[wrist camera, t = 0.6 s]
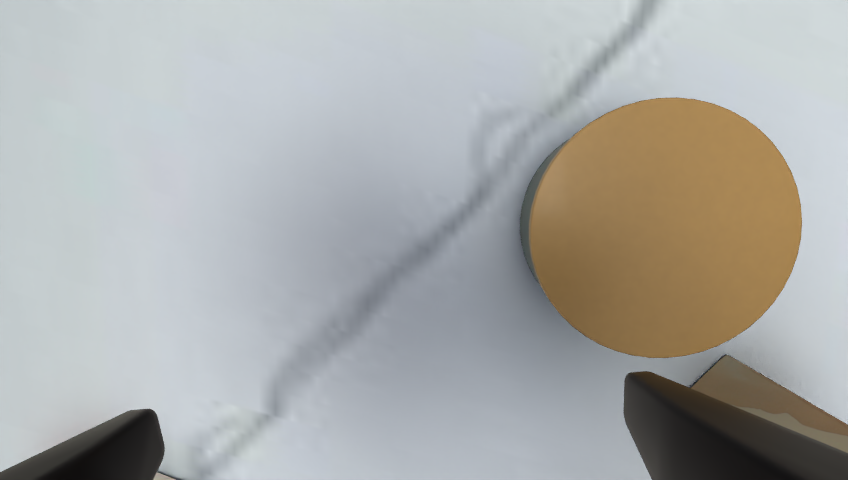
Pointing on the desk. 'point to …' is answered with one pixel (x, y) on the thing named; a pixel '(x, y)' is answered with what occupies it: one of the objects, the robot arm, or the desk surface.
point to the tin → (663, 227)
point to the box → (770, 402)
